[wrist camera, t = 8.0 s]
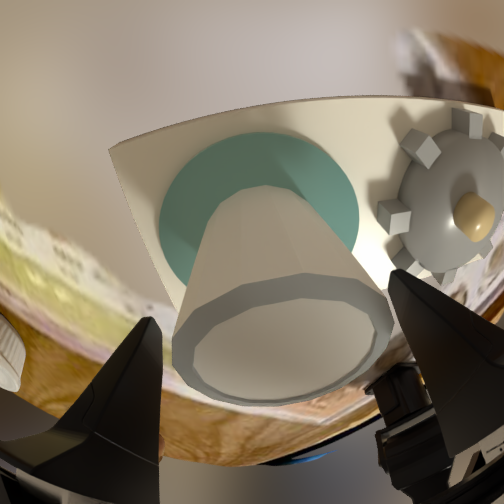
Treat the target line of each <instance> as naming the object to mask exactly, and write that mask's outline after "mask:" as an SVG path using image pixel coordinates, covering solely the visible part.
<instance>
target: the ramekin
mask: <svg viewBox="0 0 504 504" xmlns="http://www.w3.org/2000/svg"><path fill="white" fill-rule="evenodd" d="M25 356H26V352H25V348H24V343H23V341H22V339H21V337H20V335H19V334H18V332H17V331H16V330H15V328H14V327H13V326H12V325H11V324H10V323H9V321H8V320H7V319H6V318H5V317H4V316H2V315H1V314H0V387H2V388H4V389H6V390H9V391H13V392H17V391H18V390H19V387H20V384H21V383H20V377H21V373H22V369H23V365H24V361H25Z"/></svg>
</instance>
